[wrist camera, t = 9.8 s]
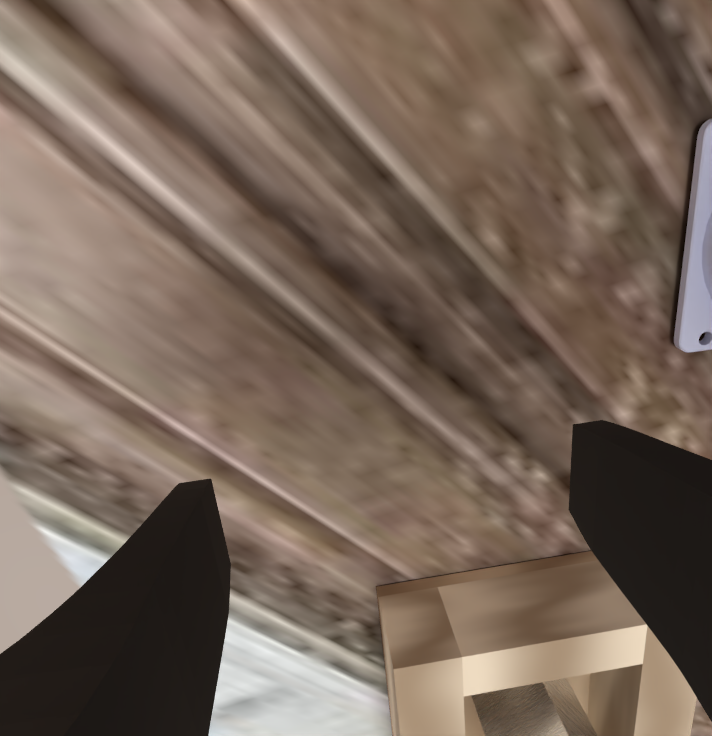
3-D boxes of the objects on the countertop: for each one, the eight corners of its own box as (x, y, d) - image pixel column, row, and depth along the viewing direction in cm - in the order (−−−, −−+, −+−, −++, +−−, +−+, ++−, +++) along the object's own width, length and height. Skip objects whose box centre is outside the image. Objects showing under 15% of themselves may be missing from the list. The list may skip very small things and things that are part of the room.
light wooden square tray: (646, 541, 25) (711, 612, 21) (625, 729, 29) (675, 816, 26) (376, 586, 24) (393, 669, 20) (396, 773, 29) (414, 869, 25)
